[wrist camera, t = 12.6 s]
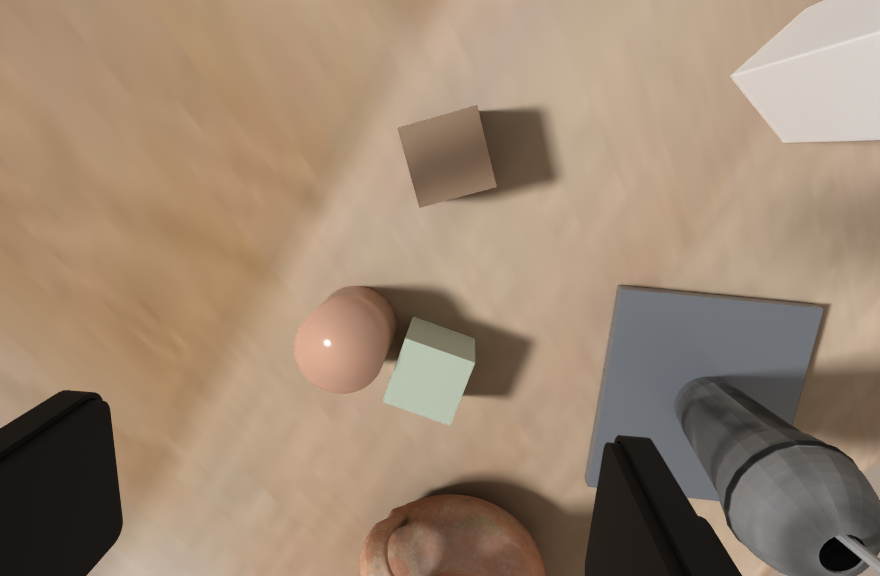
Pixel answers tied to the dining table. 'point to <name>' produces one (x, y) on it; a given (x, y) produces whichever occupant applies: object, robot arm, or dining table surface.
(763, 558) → the beverage cup
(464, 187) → the walnut block
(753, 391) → the slate board
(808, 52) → the milk
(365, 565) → the ceramic jug
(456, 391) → the sage block
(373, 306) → the peach rounded capsule
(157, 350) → the dining table surface
